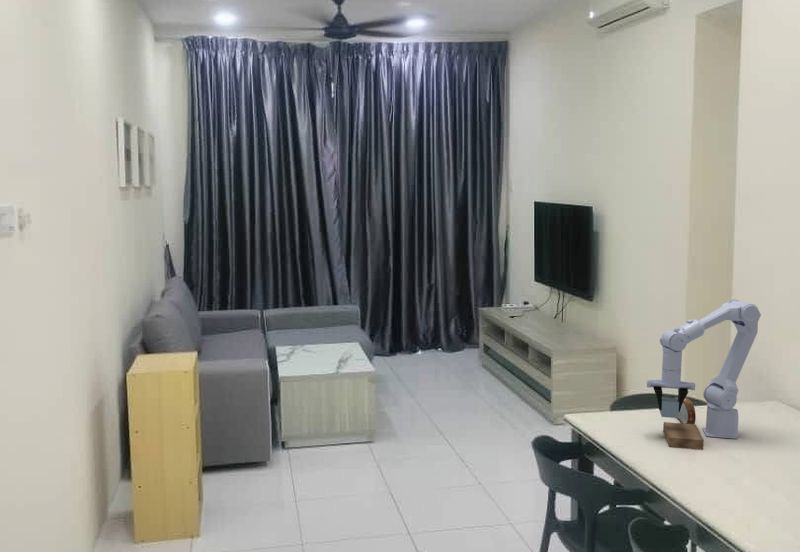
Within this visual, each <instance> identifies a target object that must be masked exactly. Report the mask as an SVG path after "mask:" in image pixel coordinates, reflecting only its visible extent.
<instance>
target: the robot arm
mask: <svg viewBox="0 0 800 552" xmlns="http://www.w3.org/2000/svg"><path fill="white" fill-rule="evenodd" d="M761 316H762V315H761V312H760V310H759V308H758V306H757V305H756V304H753V303H749V302H745V301H740V300H738V299H731V300H729V301H728V302H724V303H722V305H721V306H720V307H718V308H717V309H716V310H714V311H711V312H710V313H709V314H707V315H706V316H704V317H702V318H701V319H700V320H699V319H688V320H686V323H684V324H682V325H680V326H675V327H674V329H673V330H666V331H665V332H663V334H662V335H661V337H660V339H659V343H660V345H661V346H662V365H661V379H656V380H655V379H650V380H648V379H647V380H646V387H647V388H653V390H654V394H655V396H656V399H657V404H658V411H659V412H660V411H661V410H662V398H663V389H677V390H678V392H677V393H678V395H677V396H678V402H679V412H680V410H681V406H682V403H683V401H684V399H685V398H686V397H687V396H688V395H689V390H691V391H695V390H696V383H695V382H687V381H681V378H682V361H683V360H682V359H683V358H682V357H683V351H684V350H685V349H686V347H687V345H688V344H689V343H691V342H692V341H695V340H696V339H699V338H701V337H702V336H703V335H704V334H705V331H706V330H708V329H710V328H712V327H715V326H717V325H719V324H721V323H723V322H725V321H731V322H732V324H734V327H735V329H736V331H737V332H736V335H735V337H734V339H733V342H732V344H731V346H730V348H729V351H728V352H727V355H726V358H725V359H724V362H723V364H722V367H721V369H720V371H719V373H718V375H717V376H715V377H714V378H712V379H711V380H710V383H708V385H707V386H706V387H705V388H704V390H703V393H702V394H703V399H704V400H705V402H706V405H707V406H706V420H705V427H702V431H703V432H704V434H705V436H706V437H708V438H709V437H710V438H723V439H724V438H725V439H734V440H735V439H737V440H738V432H739V411H738V409H737V408H734V407H735V406H736V404H737V400H738V398H737V396H738V393H739V388H738V386H737V380H738V378H739V375H740V373H741V371H742V369H743V366H744V364H745V362H746V359H747V357H748V355H749V353H750V350H751V348H752V346H753V344H754V342H755V339H756V336H757V335H758V329H759V328H758V327H759V326H758V324H759V320H760V318H761Z"/></svg>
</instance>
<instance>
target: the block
mask: <svg viewBox="0 0 800 552" xmlns="http://www.w3.org/2000/svg"><path fill="white" fill-rule="evenodd" d="M678 412H679V402H678V399H677V398H675V397H673V398H672V397H662V410H661V411H660V410H659V413H660V416H661V418H670V419H671V418H672V419H678Z"/></svg>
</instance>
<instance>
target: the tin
mask: <svg viewBox="0 0 800 552" xmlns="http://www.w3.org/2000/svg"><path fill="white" fill-rule="evenodd" d="M674 398H677V399H678V395H675V397H674ZM695 409H696V408H695V405H694V404H693V401H691V400H690V399H689V398H688V397H687V396H686V398H685V399H684V401H683V403H682V406H681V410H680V412H678V418H677V420H678V421H680V422H681V423H683V424H696V419H697V418H696V410H695Z"/></svg>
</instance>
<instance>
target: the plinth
mask: <svg viewBox="0 0 800 552" xmlns="http://www.w3.org/2000/svg"><path fill="white" fill-rule="evenodd" d="M662 432H663V434H664V438H665V440H666V443H667V445H668V447H669V448H676V449H677V448H678V449H679V448H680V449H689V448H691V449H690V450H702V449H703V450H704V438H703V436H702V434H701V432H700V430H699V428H698V426H697V424H696V423H695V424H683V423H682V422H681V423H680V422H668V421H667V422H666V421H664V422H663V429H662Z"/></svg>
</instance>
